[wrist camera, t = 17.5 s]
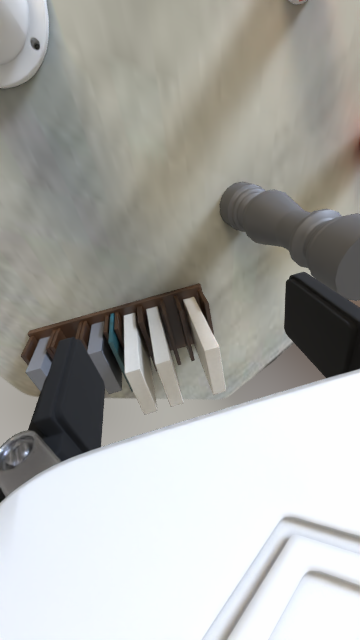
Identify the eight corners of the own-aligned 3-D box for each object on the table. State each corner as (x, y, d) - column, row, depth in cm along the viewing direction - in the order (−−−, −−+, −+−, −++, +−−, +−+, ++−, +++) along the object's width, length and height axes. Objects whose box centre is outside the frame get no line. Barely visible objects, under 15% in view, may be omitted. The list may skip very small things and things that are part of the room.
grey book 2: (110, 361, 49) (108, 394, 42) (91, 324, 44) (86, 354, 37) (121, 358, 49) (121, 390, 42) (104, 320, 44) (101, 350, 37)
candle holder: (244, 232, 41) (367, 313, 21) (211, 216, 39) (314, 288, 18) (266, 193, 38) (432, 241, 18) (233, 173, 36) (380, 201, 16)
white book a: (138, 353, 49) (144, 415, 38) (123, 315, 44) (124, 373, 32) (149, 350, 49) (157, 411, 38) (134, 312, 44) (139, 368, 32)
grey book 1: (64, 375, 48) (55, 410, 42) (39, 339, 43) (25, 372, 37) (75, 371, 48) (68, 406, 42) (52, 335, 43) (40, 368, 37)
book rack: (62, 378, 50) (51, 417, 43) (29, 330, 43) (10, 367, 36) (209, 336, 51) (223, 367, 44) (199, 283, 44) (215, 309, 37)
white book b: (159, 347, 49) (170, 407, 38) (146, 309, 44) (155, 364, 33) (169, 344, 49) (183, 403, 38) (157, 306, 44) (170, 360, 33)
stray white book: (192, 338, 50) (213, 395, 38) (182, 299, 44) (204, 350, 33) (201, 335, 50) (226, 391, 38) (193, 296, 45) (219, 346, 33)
